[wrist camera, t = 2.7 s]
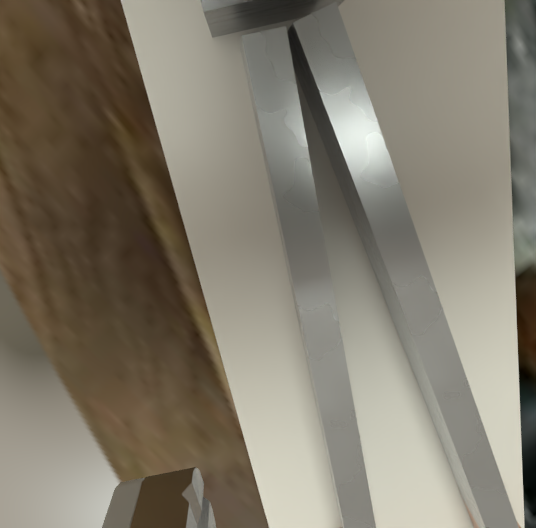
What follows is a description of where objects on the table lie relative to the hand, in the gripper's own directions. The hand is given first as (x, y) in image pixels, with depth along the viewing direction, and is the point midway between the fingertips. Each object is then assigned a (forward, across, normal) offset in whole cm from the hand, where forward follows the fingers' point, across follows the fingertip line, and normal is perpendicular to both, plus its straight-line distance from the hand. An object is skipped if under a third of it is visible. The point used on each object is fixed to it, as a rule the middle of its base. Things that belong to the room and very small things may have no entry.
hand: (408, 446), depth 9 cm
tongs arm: (+9, -3, +3) cm, 10 cm away
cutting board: (+11, -1, +2) cm, 11 cm away
